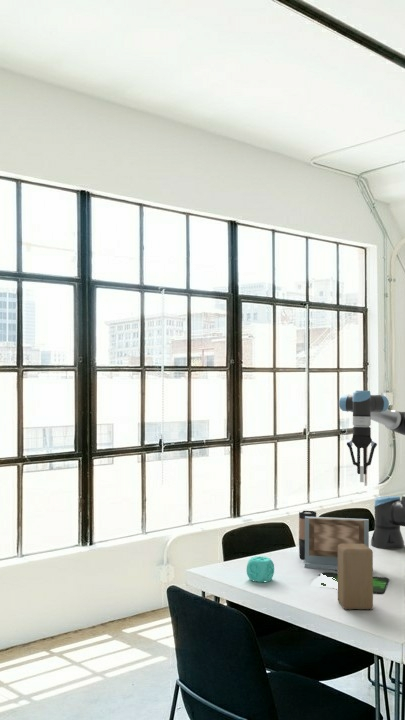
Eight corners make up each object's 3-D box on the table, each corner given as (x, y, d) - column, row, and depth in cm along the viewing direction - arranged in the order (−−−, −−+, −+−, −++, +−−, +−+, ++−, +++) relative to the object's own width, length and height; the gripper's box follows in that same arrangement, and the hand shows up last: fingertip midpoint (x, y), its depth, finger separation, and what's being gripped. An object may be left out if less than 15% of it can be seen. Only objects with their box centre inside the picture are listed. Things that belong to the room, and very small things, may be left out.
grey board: (368, 566, 284) (368, 517, 285) (369, 571, 276) (368, 521, 277) (305, 562, 289) (305, 515, 290) (304, 567, 281) (304, 518, 282)
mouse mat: (308, 587, 254) (308, 584, 254) (319, 572, 274) (319, 570, 274) (383, 595, 244) (383, 592, 244) (389, 580, 265) (389, 577, 265)
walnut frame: (363, 557, 276) (363, 520, 277) (364, 558, 274) (364, 521, 275) (309, 554, 280) (309, 517, 281) (308, 555, 278) (309, 518, 279)
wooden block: (365, 601, 236) (365, 543, 237) (373, 610, 226) (373, 549, 227) (337, 601, 236) (336, 543, 237) (343, 610, 226) (343, 549, 227)
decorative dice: (274, 579, 263) (274, 558, 264) (264, 583, 257) (264, 562, 257) (256, 575, 268) (256, 555, 268) (246, 580, 261) (246, 559, 261)
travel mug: (317, 560, 293) (317, 513, 294) (299, 560, 293) (300, 513, 294) (315, 556, 300) (315, 510, 301) (297, 556, 301) (297, 510, 301)
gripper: (346, 426, 289) (346, 482, 288) (377, 427, 286) (378, 483, 285) (346, 425, 296) (346, 480, 295) (376, 426, 294) (377, 481, 293)
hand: (361, 481), depth 290 cm, fingers closed
